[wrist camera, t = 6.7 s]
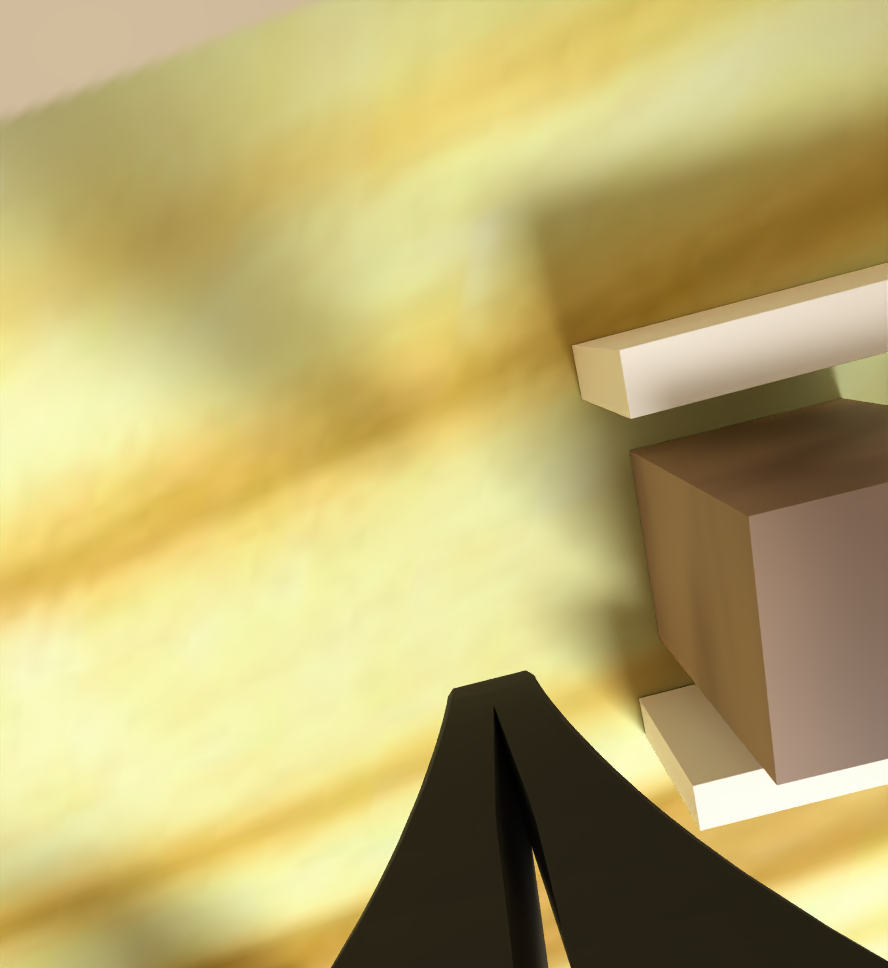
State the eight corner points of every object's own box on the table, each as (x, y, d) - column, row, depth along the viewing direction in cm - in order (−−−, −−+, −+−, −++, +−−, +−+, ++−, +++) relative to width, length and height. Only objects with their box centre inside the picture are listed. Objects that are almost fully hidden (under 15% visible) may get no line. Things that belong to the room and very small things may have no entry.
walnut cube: (838, 397, 13) (1078, 436, 9) (850, 590, 15) (1063, 716, 10) (628, 449, 13) (748, 516, 9) (657, 636, 15) (776, 785, 10)
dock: (1003, 231, 13) (1181, 202, 10) (1001, 646, 15) (1139, 720, 12) (571, 346, 13) (619, 350, 10) (646, 736, 15) (700, 830, 12)
